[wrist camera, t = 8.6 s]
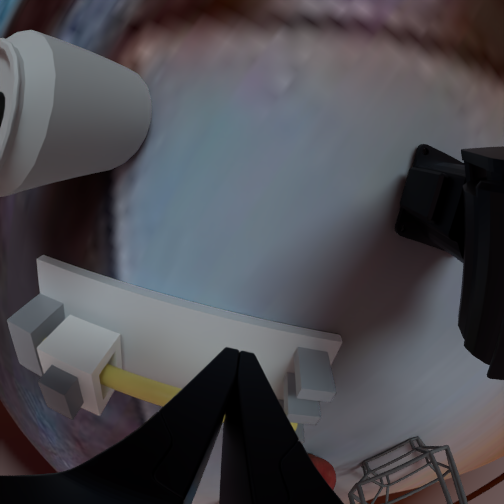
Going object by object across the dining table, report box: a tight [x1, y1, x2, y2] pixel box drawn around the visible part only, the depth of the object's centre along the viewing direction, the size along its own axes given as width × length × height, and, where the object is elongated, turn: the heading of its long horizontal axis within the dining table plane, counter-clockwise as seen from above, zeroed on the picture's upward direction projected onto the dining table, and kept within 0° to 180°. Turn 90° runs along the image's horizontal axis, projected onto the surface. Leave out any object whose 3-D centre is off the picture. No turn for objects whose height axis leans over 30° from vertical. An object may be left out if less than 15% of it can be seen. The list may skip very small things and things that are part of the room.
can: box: [0, 30, 152, 197], centre depth 11 cm, size 8×8×12 cm
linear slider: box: [7, 255, 342, 444], centre depth 21 cm, size 26×12×6 cm, turn 77°
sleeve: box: [37, 315, 122, 420], centre depth 18 cm, size 5×5×7 cm
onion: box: [308, 454, 336, 490], centre depth 24 cm, size 6×6×8 cm
